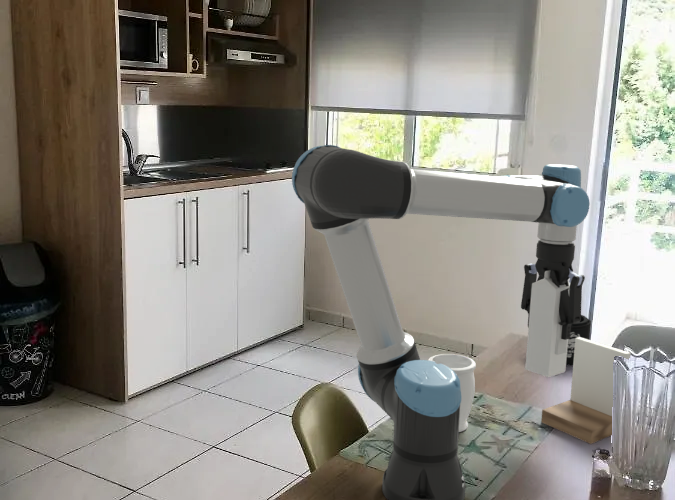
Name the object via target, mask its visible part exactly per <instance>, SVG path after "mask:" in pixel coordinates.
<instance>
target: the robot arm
mask: <svg viewBox="0 0 675 500" xmlns="http://www.w3.org/2000/svg"><path fill="white" fill-rule="evenodd" d="M292 169H293V170H292V174H291V184H292V188H293V191H294V193H295V194H296V197H297V198H298V199H299V200H300V202H301V203H303V204H304V207H305V209H306V211H307V215H308V218H309V220H310V224H311V226H312V229H313V230H314V231H316V232H319V233H321V234H322V235H324V236H323V237H324V238H325V242H326V246H327V248H328V251H329V254H330V257H331V260H332V263H333V266H334V268H335V272H336V275H337V277H338V281H339V284H340V287H341V289H342V292H343V295H344V298H345V301H346V304H347V308H348V310H349V313H350V317H351V319H352V323H353V326H354V328H355V332H356V334H357V337H358V341H359V343H360V346H359V348H358V350H357V351H356V358H357V361H358V367H357V376H358V380H359V383H360V386H361V388H362V389H363V391H364V393H365V394H366V396H367V397H368V398H369V399H371V400H372V401H373V402H375V404H376V405H378V407H379V408H381V409H382V410H383V412H384V413H385V414H387V415H388V417H389V418H390V419H391V420H393V442H392V443H393V444H392V446H393V448H392V452H391V454H390V456H389V460H388V463H387V468H386V469H385V471H384V472H383V476H382V490H381V491H382V494H383V496H384V497H385V498H386V499H387V500H465V498H466V487H467V486H466V481H465V477H464V476H463V470H462V466H461V463H460V459H459V456H458V450H459V449H458V448H459V447H458V446H459V433H460V432H459V417H460V403H461V388H460V380H459V378H458V376H457V374H456V373H455V372H454V371H453V370H452V369H451V368H449V367H447V366H445V365H443V364H441V363H440V364H436V362H434V361H429V359H428V360H427V359H421V357H420V354H419V351H418V348H417V344H416V342H415V339H414V336H412V335H411V334H410V333H408V332H406V331H404V330H403V327H402V323H401V321H400V316H399V314H398V311H397V307H396V304H395V301H394V297H393V294H392V291H391V288H390V285H389V282H388V279H387V275H386V272H385V269H384V267H383V262H382V259H381V257H380V256H381V255H380V253H379V250H378V247H377V243H376V241H375V236H374V234H373V231H372V228H371V224H370V221H369V219H389V220H391V219H392V220H401V219H403V218H404V217H405V216H406V215H407V214H409V215H423V216H438V217H440V216H441V217H455V218H456V217H457V218H468V219H469V218H470V219H483V220H484V219H485V220H496V221H497V220H500V221H501V220H503V221H515V222H516V221H518V222H528V223H529V222H530V223H537V224H538V226H537V238H538V239H539V240H537V241H536V250H535V251H536V252H535V256H536V258H537V260H536V262H535V263H534V262H532V263H526V264H524V266H523V270H524V281H523V289H522V295H521V297H522V298H521V303H520V308H521V309H522V310H523V311H524V310H525V311H526V312H527V315H528V319H527V328H528V327H529V315H530V302H531V290H532V283H534V282H537V281H539V280H541V279H544V275H545V271H548V270H551V272H550V278H551V279H552V282H553V283H554V284H555V285H556V286H557V287H558V288H559V287H560V286H559V285H564V284H565V285H566V286H565V287H567V286H569V284H568V281H569V283H570V288H568V289H569V293H568V289H565V290H563V291H561V292H560V303H559V314H560V320H561V322H559V323H558V324H557V332H556V344H555V354H556V355H559V354H563V353H566V346H567V339H569V338H570V334H571V325H572V324H574V323H578V322H580V321H581V315H582V302H583V301H582V295H583V294H582V293H583V285H584V282H585V280H586V276H585V275H583V274H578V273H576V272H574V269H573V265H572V264H573V261H574V260H575V249H576V244H575V243H574V241H575V240H576V239H577V238H576V236H577V227H578V226H579V225H580V224H581V223H582V222H584V220H585V219H586V218H587V216H588V214H589V210H590V205H591V204H590V199H589V195H588V193H587V192H586V190H585V189H583V188H582V171H581V169H580V167H578V166H576V165H570V164H559V163H557V164H553V163H552V164H545V165H544V166H543V167H542V172H541V174H538V175H520V174H519V175H518V174H517V175H516V174H515V175H513V174H511V175H510V174H506V175H496V176H491V175H482V174H472V173H471V174H470V173H469V174H468V173H461V172H451V171H450V172H448V171H439V170H427V169H415V168H411V167H410V166H409V164H408V163H407V162H404V161H399V160H392V159H391V160H389V159H385V158H381V157H377V156H374V155H370V154H366V153H363V152H360V151H358V150H354V149H348V148H342V147H340V146H338V145H334V144H325V145H318V146H314V147H312V148H310V149H307V150H306V151H304V152H303V154H301V155H300V157H298V159H297V160H296V162H295V165H294V166H293V168H292Z"/></svg>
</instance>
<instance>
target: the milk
mask: <svg viewBox="0 0 675 500" xmlns="http://www.w3.org/2000/svg"><path fill="white" fill-rule="evenodd" d="M550 272H551V270H548V271H545V275H544V279H541V280H539V281H537V280H536V282H534V283H532V290H531V302H530V315H529V327H528V326H527V328H528V330H527V342H526V351H525V352H526V354H525V367H524V368H525V371H529V372H531V373H535V374H537V375H539V376H543V377H545V378H551V377H554V376H558V375H560V374H563V373H565V372H566V369H567V367H566V366H567V365H566V358H567V347H568V339H567V346H566V353H563V354H559V355H556V354H555V344H556V332H557V324H558V323H559V322H561V320H560V314H559V303H560V292H561V291H563V290H565V289H568V288H570V283H569V280H568V284H569V286H567V287H565V286H566V285H565V284H564V285H559V286H560V287H559V288H558V287H557V286H556V285H555V284H554V283H553V282H552V279H551V278H550ZM568 293H569V289H568Z"/></svg>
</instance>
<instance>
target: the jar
mask: <svg viewBox="0 0 675 500" xmlns="http://www.w3.org/2000/svg"><path fill="white" fill-rule="evenodd" d="M428 360H429V361H434V362H436V364H440V363H441V364H443V365H445V366H447V367H449V368H451V369H452V370H453V371H454V372H455V373H456V374H457V376H458V378H459V380H460V388H461V403H460V417H459V433H461V432H463V431H466V430H467V429H468V426H469V423H468V421H467V419H468V418H469V416H470V413H471V410H472V408H473V407H472V406H473V402H474V397H475V392H476V391H475V390H476V386H475V385H476V384H475V383H476V381H475V374H474V371H475V369H476V368H477V367H476V366H477V363H476V361H475V360H474V359H472V358H471V357H469V356H465V355H462V354H454V353H440V354H436V355H432V356H430V357H429V358H428Z"/></svg>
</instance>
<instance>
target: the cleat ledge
mask: <svg viewBox="0 0 675 500" xmlns="http://www.w3.org/2000/svg"><path fill="white" fill-rule="evenodd" d="M540 422H541V423H542V424H544V425H547V426H549V427H551V428H554V429H555V430H558V431H560V432H563V433H564V434H567V435H570V436H571V437H574V438H575V439H579V440H581V441H582V442H585V443H588V444H590V445H592V444H595V443H596V442H599V441H602V440H603V439H606V438H608V437H609V438H610V437H611V436H613V435H612V416H610V415H607V414H605V413H602V412H600V411H597V410H595V409H592V408H590V407H587V406H584V405H582V404H579V403H577V402H574V401H572V400H566V401H563V402H560V403H557V404H555V405H552V406H548V407H546V408H543V409H542V410H541V421H540Z"/></svg>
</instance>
